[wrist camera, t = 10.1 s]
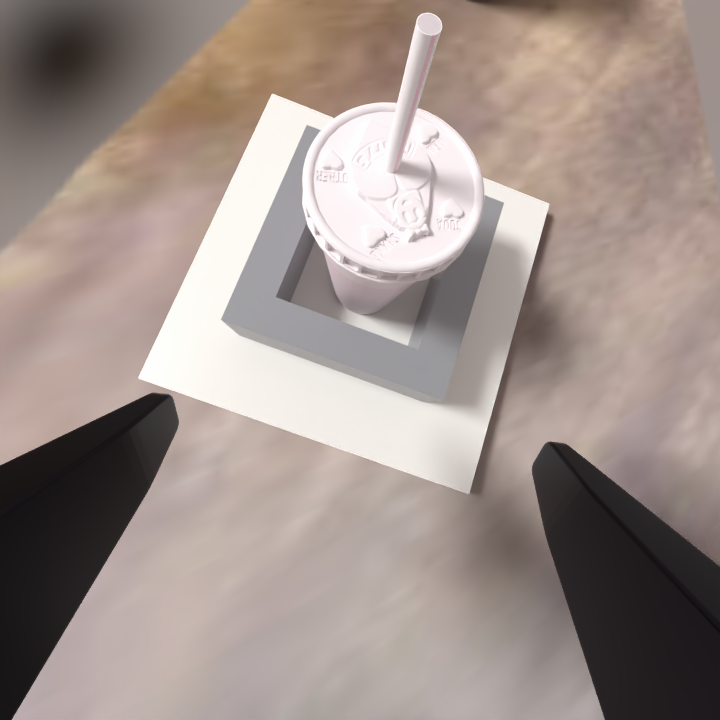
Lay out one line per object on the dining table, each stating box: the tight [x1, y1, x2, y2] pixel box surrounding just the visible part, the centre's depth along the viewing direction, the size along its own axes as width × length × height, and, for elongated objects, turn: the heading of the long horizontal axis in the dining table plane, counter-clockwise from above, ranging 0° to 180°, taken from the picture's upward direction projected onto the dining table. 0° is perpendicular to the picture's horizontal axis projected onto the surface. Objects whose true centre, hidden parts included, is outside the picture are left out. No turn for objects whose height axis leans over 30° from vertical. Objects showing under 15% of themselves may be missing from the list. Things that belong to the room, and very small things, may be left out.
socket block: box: [138, 94, 549, 494], centre depth 20 cm, size 20×20×4 cm
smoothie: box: [302, 13, 484, 314], centre depth 14 cm, size 6×6×14 cm
